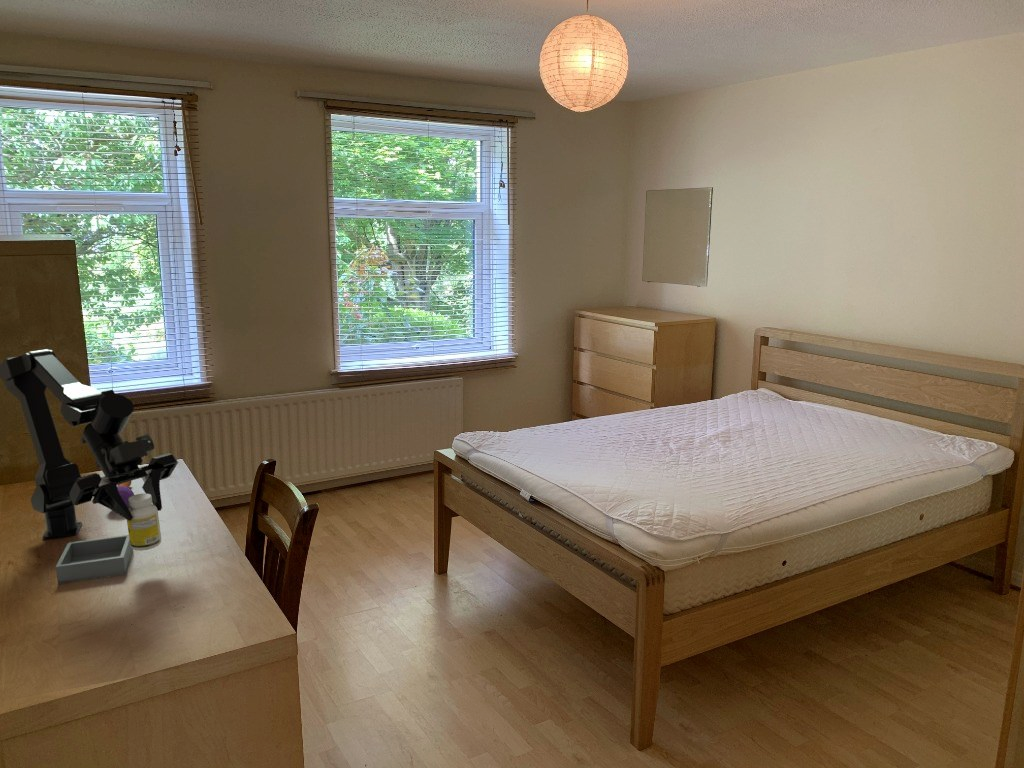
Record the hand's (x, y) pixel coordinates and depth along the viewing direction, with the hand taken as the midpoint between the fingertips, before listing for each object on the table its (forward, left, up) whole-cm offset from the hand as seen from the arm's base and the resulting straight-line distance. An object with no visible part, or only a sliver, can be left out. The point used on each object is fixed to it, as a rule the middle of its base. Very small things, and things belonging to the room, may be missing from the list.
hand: (146, 514), depth 142 cm
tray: (-8, -11, -12) cm, 18 cm away
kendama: (-45, -11, -13) cm, 48 cm away
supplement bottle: (-1, -1, -7) cm, 7 cm away
